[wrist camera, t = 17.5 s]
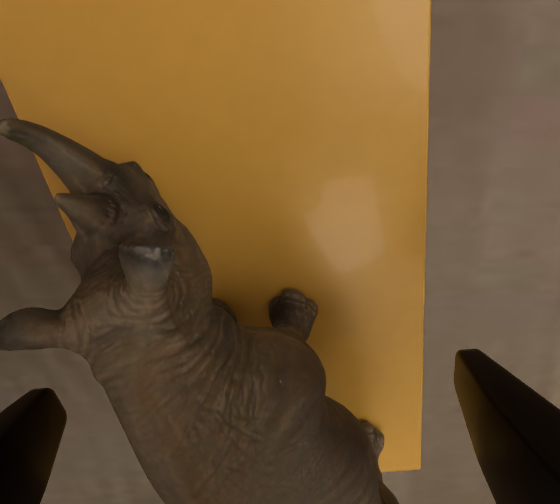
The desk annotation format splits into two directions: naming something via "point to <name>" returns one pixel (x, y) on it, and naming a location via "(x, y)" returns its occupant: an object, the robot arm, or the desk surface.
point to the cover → (264, 158)
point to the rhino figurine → (191, 352)
